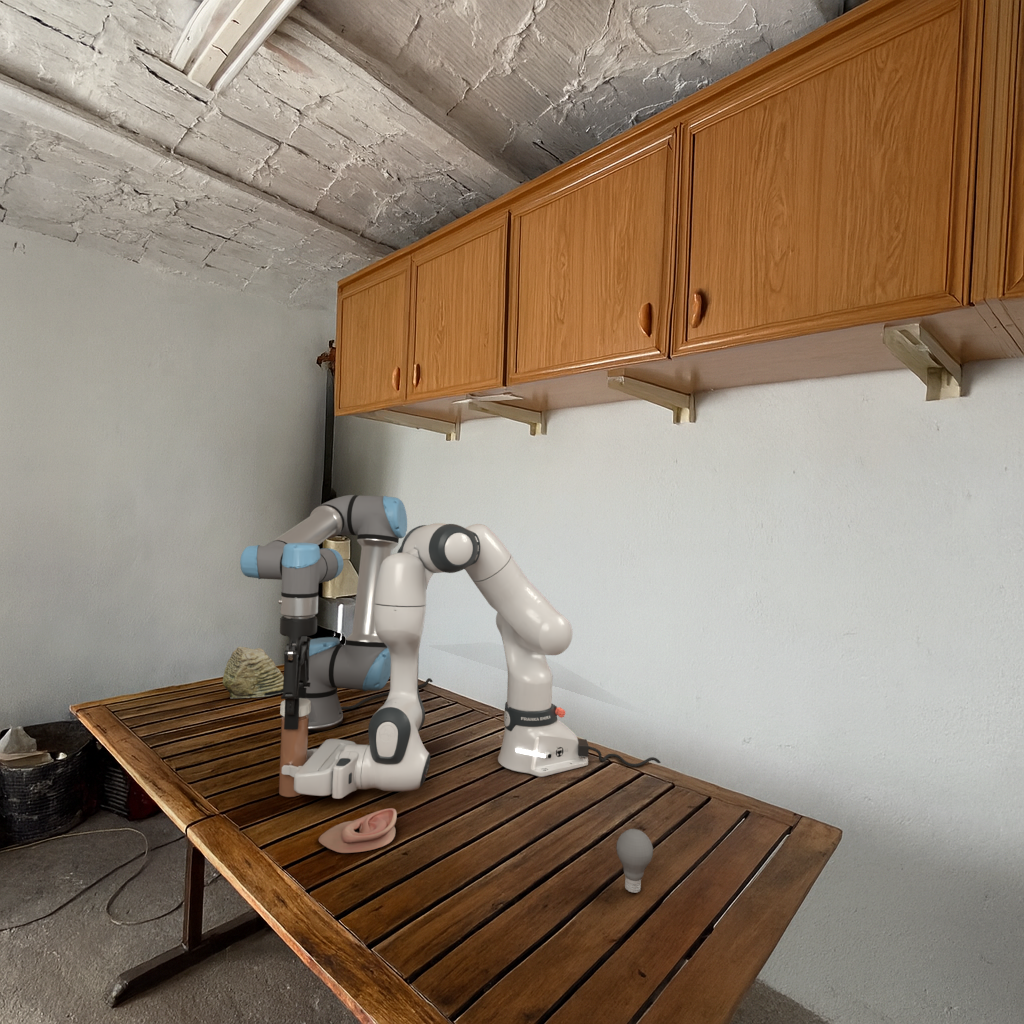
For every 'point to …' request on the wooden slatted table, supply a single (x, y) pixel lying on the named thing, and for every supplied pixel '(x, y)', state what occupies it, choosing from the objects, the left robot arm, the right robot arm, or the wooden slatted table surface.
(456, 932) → the wooden slatted table surface
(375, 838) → the anatomical model
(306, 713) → the lid
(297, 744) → the jar
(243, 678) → the fossil
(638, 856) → the light bulb
